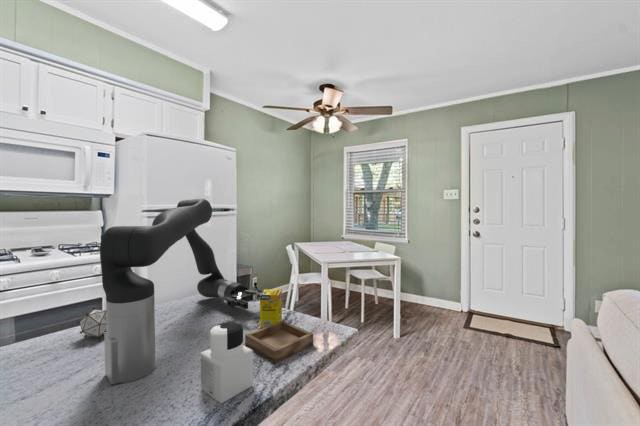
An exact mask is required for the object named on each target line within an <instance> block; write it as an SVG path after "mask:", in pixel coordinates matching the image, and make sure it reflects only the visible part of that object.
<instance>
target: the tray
mask: <svg viewBox="0 0 640 426" xmlns="http://www.w3.org/2000/svg"><path fill="white" fill-rule="evenodd" d="M244 338H245V340H244V346H246V347H248V348H250V349H252V350H253V352H255V353H257V354H258V355H260V356H261V357H264V358H265V359H267V360H268V361H270V362H271V363H274V364H277V363H279V362H282V361H283V360H285V359H288V358H290V357H291V356H293V355H296V354H297V353H299V352H302V351H304V350H305V349H307V348H310V347H312V346H314V333H312V332H310V331H308V330H305V329H304V328H300V327H298V326H296V325H293V324H290V323H289V322H287V321H285V320H282V321H281V322H278V323H276V324H273V325H270V326H267V327H265V328H262V329H260V328H259V329H257V330H254V331H251V332H248V333H246V334H244Z"/></svg>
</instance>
